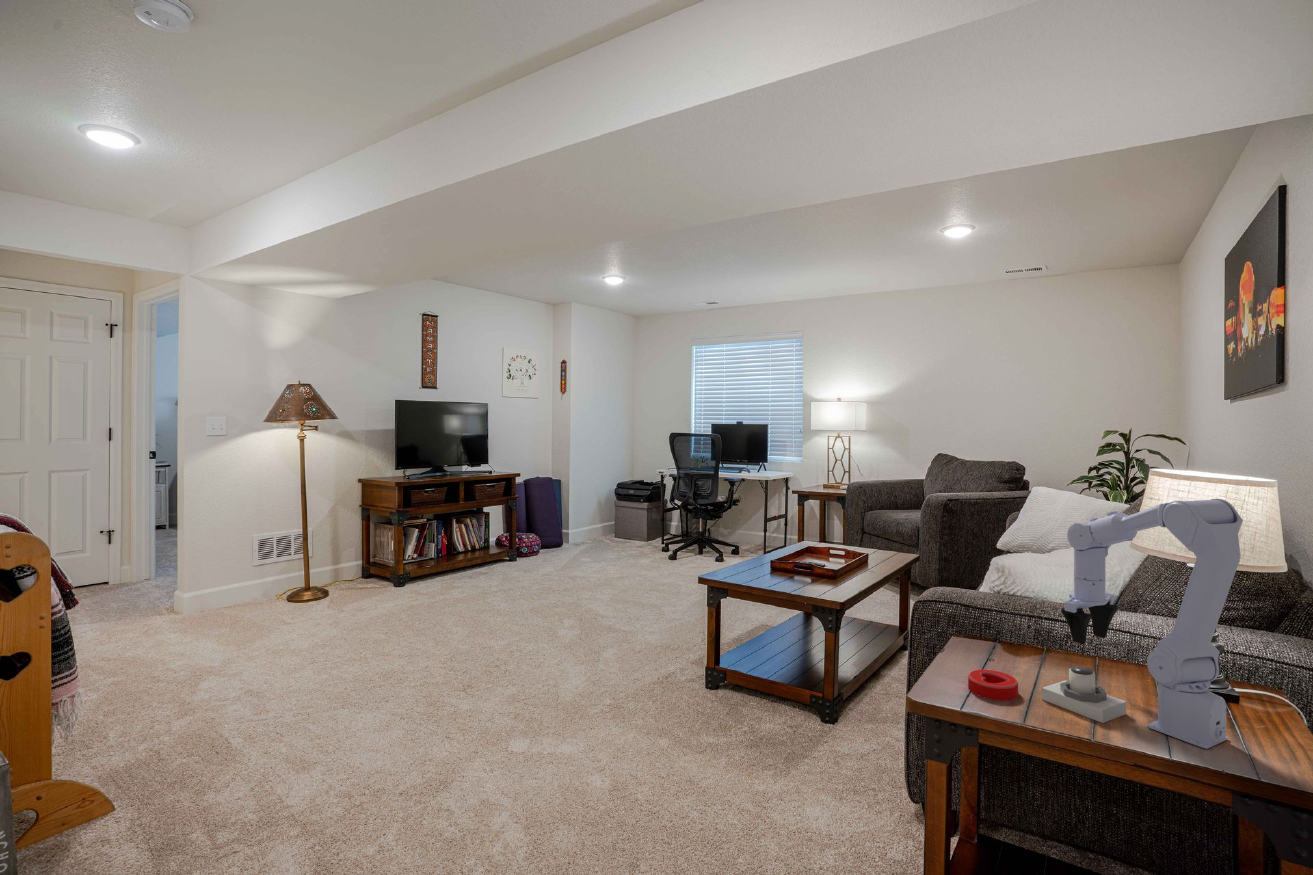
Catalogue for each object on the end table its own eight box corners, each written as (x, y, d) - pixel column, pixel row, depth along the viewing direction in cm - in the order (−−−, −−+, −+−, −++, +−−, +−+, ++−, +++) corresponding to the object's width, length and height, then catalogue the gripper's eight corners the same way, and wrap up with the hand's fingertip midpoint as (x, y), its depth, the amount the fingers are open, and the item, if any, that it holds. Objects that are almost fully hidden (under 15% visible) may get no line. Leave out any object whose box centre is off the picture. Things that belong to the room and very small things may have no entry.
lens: (1099, 694, 131) (1098, 669, 131) (1089, 700, 129) (1088, 675, 129) (1076, 687, 135) (1075, 663, 135) (1065, 693, 133) (1064, 668, 133)
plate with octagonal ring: (1126, 713, 128) (1126, 695, 128) (1102, 722, 125) (1102, 704, 125) (1065, 691, 139) (1065, 674, 139) (1041, 699, 136) (1041, 681, 136)
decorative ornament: (1027, 700, 136) (1027, 685, 136) (983, 702, 135) (983, 687, 135) (1001, 681, 146) (1001, 668, 145) (959, 683, 145) (959, 669, 145)
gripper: (1090, 570, 148) (1090, 628, 148) (1050, 578, 141) (1050, 639, 141) (1123, 576, 141) (1123, 638, 142) (1084, 585, 135) (1084, 649, 135)
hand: (1089, 639), depth 141 cm, fingers open, 7 cm apart
